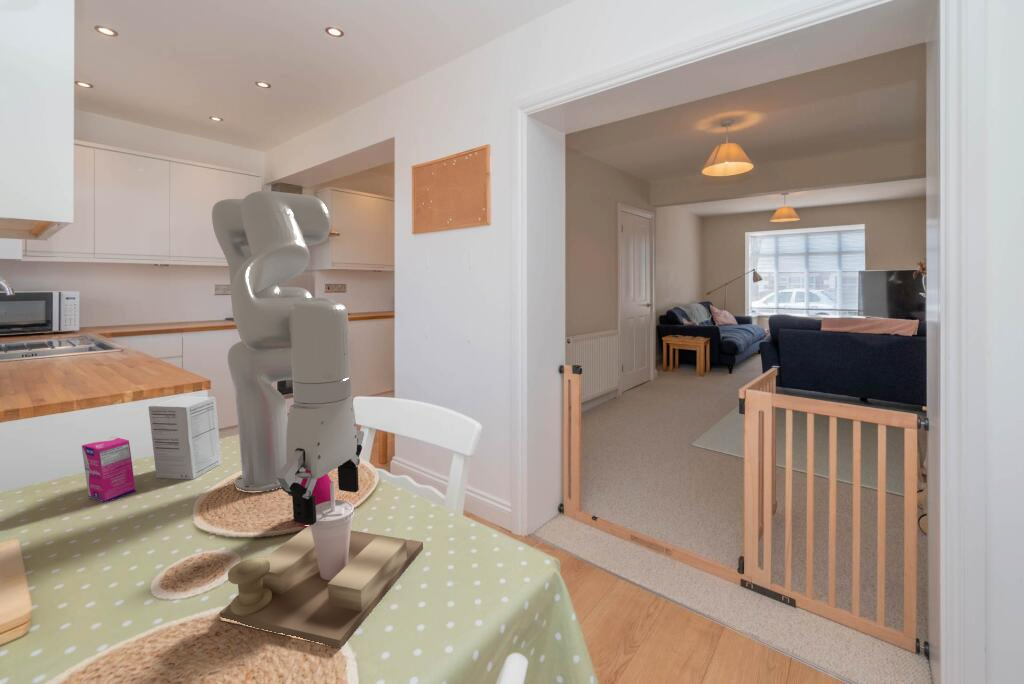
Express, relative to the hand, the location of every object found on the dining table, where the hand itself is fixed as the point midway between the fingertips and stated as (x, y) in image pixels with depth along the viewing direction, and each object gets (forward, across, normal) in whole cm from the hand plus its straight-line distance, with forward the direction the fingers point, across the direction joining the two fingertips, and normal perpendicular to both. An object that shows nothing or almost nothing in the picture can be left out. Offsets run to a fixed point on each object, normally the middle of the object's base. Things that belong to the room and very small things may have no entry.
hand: (328, 505), depth 68 cm
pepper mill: (+12, -15, -14) cm, 24 cm away
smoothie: (+10, 0, 0) cm, 10 cm away
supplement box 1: (+13, -12, -61) cm, 64 cm away
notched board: (+11, 0, +1) cm, 11 cm away
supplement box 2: (+13, -26, -57) cm, 64 cm away
